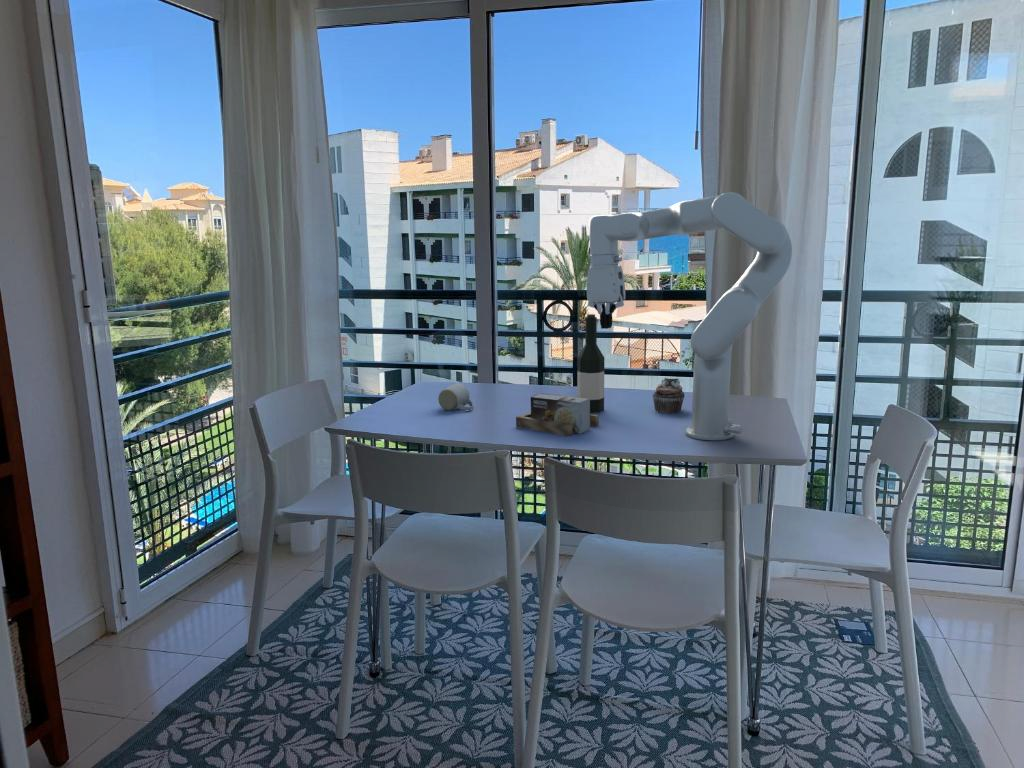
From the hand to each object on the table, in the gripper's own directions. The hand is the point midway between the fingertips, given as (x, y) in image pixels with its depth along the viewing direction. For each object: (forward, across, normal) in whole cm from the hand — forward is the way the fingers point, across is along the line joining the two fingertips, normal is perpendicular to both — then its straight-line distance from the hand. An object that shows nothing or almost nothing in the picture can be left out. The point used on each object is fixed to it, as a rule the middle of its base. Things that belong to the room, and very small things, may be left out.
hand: (606, 327), depth 207 cm
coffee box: (+24, +3, +8) cm, 25 cm away
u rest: (+28, +13, +7) cm, 32 cm away
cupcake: (+29, -5, -27) cm, 40 cm away
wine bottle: (+28, +15, -15) cm, 35 cm away
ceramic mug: (+27, +52, +6) cm, 58 cm away
